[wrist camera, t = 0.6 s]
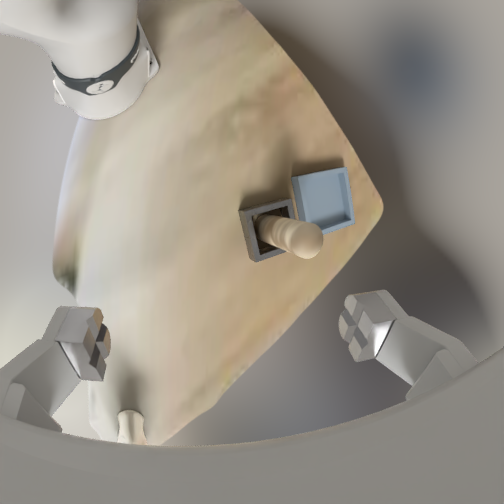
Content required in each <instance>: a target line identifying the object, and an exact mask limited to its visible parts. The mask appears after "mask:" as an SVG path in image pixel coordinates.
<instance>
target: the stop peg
mask: <svg viewBox="0 0 504 504" xmlns="http://www.w3.org/2000/svg"><path fill="white" fill-rule="evenodd" d="M254 231H255V235H256V237H257V238H258V239H259V240H261V241H264V242H266V243H268V244H271V245H273V246H276V247H278V248H280V249H283V250H285V251H287V252H290V253H292V254H295V255H297V256H299V257H302V258H305V259H308V258H312V257H314V256H315V255H317V254H318V252H319V251H320V249H321V247H322V245H323V233H322V231H321V229H320V228H319V226H317V225H316V224H314V223H309V222H305V221H300V220H295V219H290V218H285V217H280V216H275V215H269V214H265V215H262V216H260V217H259V218H258V219H257V220H256V222H255V225H254Z"/></svg>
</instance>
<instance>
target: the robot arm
mask: <svg viewBox="0 0 504 504" xmlns="http://www.w3.org/2000/svg"><path fill="white" fill-rule="evenodd" d="M137 12H138V0H0V34H4V35H9V36H14V37H18V38H22V39H25V40H28V41H31V42H33V43H35V44H37V45H39V46H40V47H41V48H42V49H43V50H44V51H45V53H46V54H47V55H48V56H49V58H50V59H51V61H52V66H53V72H54V74H55V79H54V80H53V84H54V86H55V95H54V100H55V101H56V103H57V104H59V105H63V106H68V107H69V108H71V109H72V110H73V111H74V112H75V113H77V114H78V115H79V116H81V117H84V118H87V119H93V120H99V119H106V118H110V117H113V116H115V115H118V114H120V113H121V112H123V111H125V110H126V109H127V108H129V107H130V106H131V105H132V104H133V103H134V102H135V101H136V100H137V99H138V97H139V96H140V94H141V93H142V91H143V89H144V87H145V85H146V83H147V82H148V81H149V80H150V79H151V78H153V77H154V76H155V75H156V74H157V73H158V71H159V65H158V63H157V60H156V58H155V56H154V54H153V51H152V49H151V47H150V45H149V42H148V40H147V38H146V36H145V33H144V31H143V29H142V26H141V24H140V22H139V20H138V17H137ZM150 62H151V63H152V64H151V65H150ZM344 305H345V307H346V309H345V310H344V311H343V312H342V313H341V316H340V319H339V330H340V334H341V336H342V338H343V339H344V340H345V341H347V342H349V343H350V344H349V348H348V349H349V350H350V352H351V354H352V356H353V358H354V359H355V361H356V362H359V361H363V360H368V359H372V358H376V359H377V360H378V361H379V362H381V363H382V364H383V365H385V366H386V367H387V368H389V369H390V370H392V371H393V372H394V373H396V374H397V375H398V376H400V377H401V378H403V379H404V380H405V381H406V382H408V383H409V384H410V385H412V388H411V389H410V390H409V392H408V393H407V394H406V400H407V401H405V402H402V403H400V404H397V405H395V406H392V407H390V408H387V409H385V410H382V411H379V412H376V413H374V414H371V415H368V416H365V417H362V418H359V419H356V420H353V421H349V422H346V423H342V424H339V425H335V426H331V427H328V428H324V429H320V430H315V431H311V432H307V433H303V434H297V435H293V436H287V437H282V438H276V439H269V440H263V441H255V442H247V443H238V444H226V445H213V446H212V445H211V446H152V445H137V444H126V443H117V442H109V441H102V440H95V439H89V438H84V437H79V436H74V435H70V434H65V433H62V428H61V426H60V425H59V424H58V423H57V422H56V421H55V420H54V419H53V418H52V415H53V414H54V413H55V412H56V410H57V409H58V408H59V407H60V405H61V404H62V403H63V402H64V401H65V399H66V398H67V397H68V396H69V395H70V393H71V392H72V391H73V390H74V388H75V387H76V386H77V385H78V384H79V383H80V381H81V380H90V381H103V379H104V374H105V370H106V366H107V365H106V363H105V361H104V359H105V358H106V357H107V356H108V355H109V353H110V348H111V339H110V334H109V331H108V328H107V327H106V326H105V325H104V324H103V323H102V321H103V318H104V317H103V315H102V312H101V310H100V309H99V308H91V307H68V306H60V307H58V308H57V309H56V312H55V314H54V315H53V317H52V319H51V321H50V323H49V325H48V327H47V329H46V331H45V333H44V335H43V337H42V340H37V341H35V342H34V343H33V344H31V345H30V346H29V347H27V348H26V349H25V350H24V351H22V352H21V353H20V354H18V355H17V356H16V357H15V358H14V359H12V360H11V361H10V362H8V363H7V364H6V365H5V366H4V367H2V368H1V369H0V504H504V347H503V348H501V349H500V350H498V351H497V352H495V353H494V354H492V355H491V356H489V357H488V358H486V359H485V360H483V361H482V362H480V363H478V362H477V361H476V359H475V358H474V357H473V356H472V354H471V353H470V352H469V350H468V349H467V348H466V347H465V345H464V344H463V343H462V342H461V341H460V340H458V339H456V338H454V337H452V336H450V335H448V334H446V333H444V332H442V331H440V330H438V329H436V328H434V327H432V326H430V325H428V324H426V323H424V322H422V321H420V320H418V319H416V318H414V317H412V316H411V317H409V316H408V315H407V314H406V313H405V311H404V310H403V309H402V308H401V307H400V305H399V304H398V303H397V302H396V301H395V300H394V298H393V297H392V296H391V295H390V294H389V293H388V291H386V290H379V291H373V292H368V293H360V294H352V295H348V296H347V298H346V300H345V303H344Z"/></svg>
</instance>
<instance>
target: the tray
mask: <svg viewBox="0 0 504 504" xmlns="http://www.w3.org/2000/svg"><path fill="white" fill-rule="evenodd" d="M291 180H292V185H293V190H294V195H295V200H296V205H297V211H298V216H299V220H300V221H305V222H309V223H314V224H316V225H317V226H319V228H320V229H321V231H322V233H323V235H324V234H327V233H330V232H333V231H336V230H338V229H341V228H344V227H347V226H350V225H352V224H355V219H354V211H353V204H352V197H351V190H350V184H349V178H348V172H347V167H338V168H333V169H328V170H323V171H318V172H313V173H308V174H304V175H299V176H294V177H291Z"/></svg>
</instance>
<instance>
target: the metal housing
mask: <svg viewBox="0 0 504 504" xmlns="http://www.w3.org/2000/svg"><path fill="white" fill-rule="evenodd" d="M277 208H280V209H281V214H282V217H285V218H290V219H295V216H294V210H293V205H292V200H291V199H288V198H282V199H278V200H275V201H271V202H267V203H263V204H260V205H256V206H253V207H249V208H245V209H242V210H238V211H239V215H240V220H241V224H242V228H243V232H244V237H245V241H246V245H247V249H248V253H249V258H250V259H251V260H253V261H254V262H259V261H262V260H264V259H267V258H270V257H273V256H276V255H278V254H281V253H284V252H287V251H285V250H283V249H280V248H278V247H276V246H273V245H272V246H269V247H266V248H263V249H260V250H259V248H258V244H257V240H256V235H255V231H254V226H253V222H252V218H251V216H253V215H256V214H260V213H263V212H266V211H270V210H274V209H277Z"/></svg>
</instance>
